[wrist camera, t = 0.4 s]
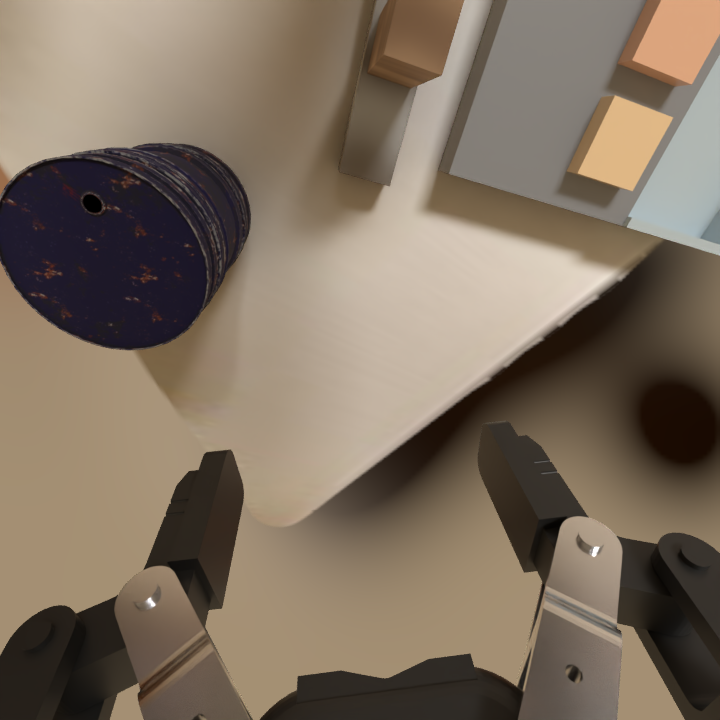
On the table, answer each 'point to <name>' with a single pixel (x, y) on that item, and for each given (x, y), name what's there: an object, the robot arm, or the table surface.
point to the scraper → (394, 80)
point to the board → (555, 101)
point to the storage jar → (123, 240)
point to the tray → (687, 178)
